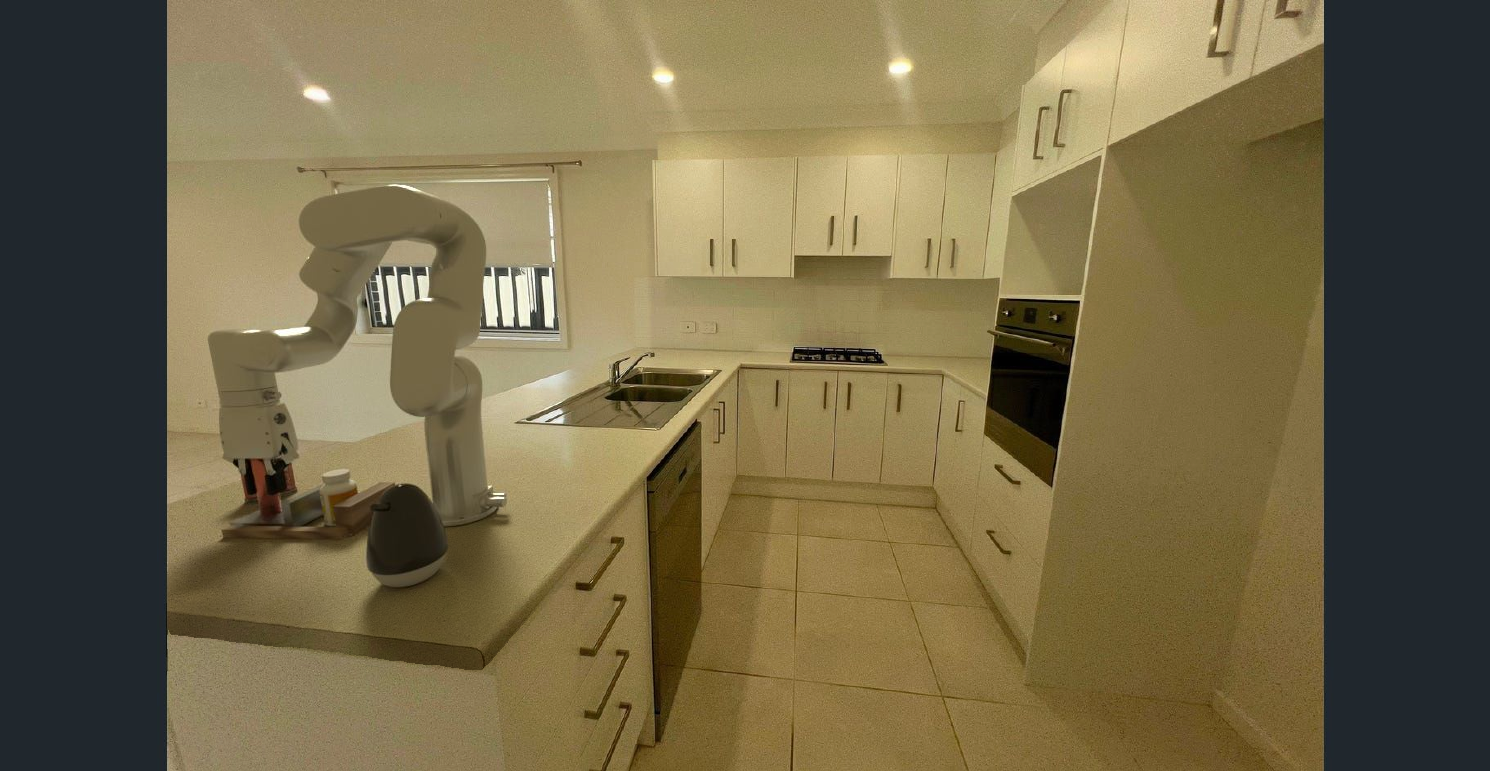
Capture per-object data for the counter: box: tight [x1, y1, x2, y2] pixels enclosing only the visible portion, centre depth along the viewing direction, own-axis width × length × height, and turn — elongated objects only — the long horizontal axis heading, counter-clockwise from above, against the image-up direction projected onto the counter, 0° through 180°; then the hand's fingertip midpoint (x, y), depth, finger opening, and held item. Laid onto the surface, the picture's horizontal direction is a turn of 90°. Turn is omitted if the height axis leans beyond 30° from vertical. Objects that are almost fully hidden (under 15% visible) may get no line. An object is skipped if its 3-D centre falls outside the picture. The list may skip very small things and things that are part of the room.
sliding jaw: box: [229, 459, 325, 527], centre depth 89 cm, size 12×9×13 cm
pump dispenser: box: [365, 482, 449, 588], centre depth 72 cm, size 10×10×15 cm
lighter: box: [237, 460, 299, 504], centre depth 100 cm, size 8×3×10 cm, turn 144°
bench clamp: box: [221, 481, 396, 540], centre depth 90 cm, size 22×14×6 cm, turn 90°
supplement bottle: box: [319, 468, 359, 527], centre depth 90 cm, size 5×5×10 cm
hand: (267, 491), depth 90 cm, fingers closed on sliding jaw, 3 cm apart
